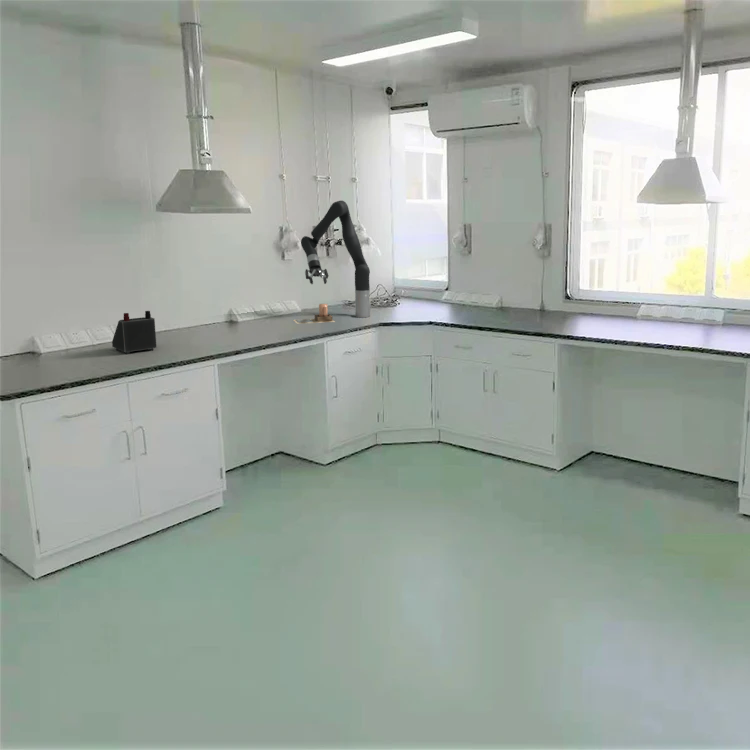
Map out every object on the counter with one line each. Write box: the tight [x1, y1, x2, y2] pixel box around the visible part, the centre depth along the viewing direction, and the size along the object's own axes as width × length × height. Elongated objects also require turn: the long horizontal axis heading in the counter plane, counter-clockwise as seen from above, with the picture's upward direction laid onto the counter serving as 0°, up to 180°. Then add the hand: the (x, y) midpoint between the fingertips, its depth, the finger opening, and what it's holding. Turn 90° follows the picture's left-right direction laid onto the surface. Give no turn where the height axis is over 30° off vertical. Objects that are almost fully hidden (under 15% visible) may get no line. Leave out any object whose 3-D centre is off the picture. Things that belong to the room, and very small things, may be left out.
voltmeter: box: [111, 310, 158, 355], centre depth 345 cm, size 16×16×20 cm
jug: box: [318, 303, 329, 317], centre depth 426 cm, size 5×8×10 cm
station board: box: [292, 313, 336, 325], centre depth 427 cm, size 24×14×4 cm, turn 108°
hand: (318, 283), depth 434 cm, fingers open, 8 cm apart
